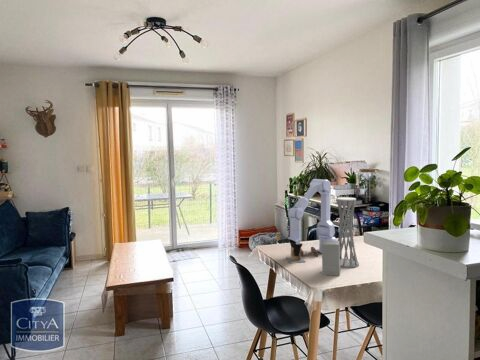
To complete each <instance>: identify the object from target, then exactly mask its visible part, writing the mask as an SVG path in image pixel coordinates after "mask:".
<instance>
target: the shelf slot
mask: <svg viewBox="0 0 480 360" xmlns="http://www.w3.org/2000/svg"><path fill="white" fill-rule="evenodd" d="M310 252H311V254H312V255H313V256H314V257H316V258H318V255H319V254H318V252H319V251H318V250H317V249H316V248H315V247H314V246H311V247H310ZM304 253H305V252H304V250H303V249H302V248H301V249H300V257H302V258H305V254H304Z"/></svg>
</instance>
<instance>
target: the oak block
mask: <svg viewBox="0 0 480 360" xmlns="http://www.w3.org/2000/svg"><path fill="white" fill-rule="evenodd" d="M290 257H291V259H292V261H295V260H300V257H301V256H300V253H299V256H295V255H294V249H293V248H291V247H290Z"/></svg>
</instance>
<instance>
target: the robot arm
mask: <svg viewBox="0 0 480 360" xmlns="http://www.w3.org/2000/svg"><path fill="white" fill-rule="evenodd" d="M331 185H332V184H331V182H330V180H328V179H323V178H322V179H320V178H313V179H312V180H311V181H310V183H309V187H308V189H307V191H306V192H305V194H304V196H303V197H300V198H298V201H296V203H295V204H294V206H293V207H291V208H289V209H288V212H287V216H288V218H289V232H290V233H289V236H288V237H287V239H288V241H289V244H290V249H291V248H293V249H294V255H295V256H299V253H300V249H302V247H303V243H301V240H302V236H301V235H302V234H301V233H302V232H301V230H302V229H301V228H302V226H301V224H302V222H301V221H302V220H301V219H302V218H303V217H304V212H305V210H306V208H307V207H308V206H309V201H310V200H311V198H313V197H314V195H315V194H316V193H317V192H318V193H319V194H320V221H319V222H317V226H316V234H317V235H318V237H319V241H318V242H319V246H318V248H317V249H316V250H317V251H318V252H319V253H320V254H322V242H323V241H337V239H336V236H335V234H336V231H335V230H336V229H335V224H334V223H333V222H332V220H331V187H332V186H331Z"/></svg>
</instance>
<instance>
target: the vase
mask: <svg viewBox="0 0 480 360" xmlns="http://www.w3.org/2000/svg"><path fill="white" fill-rule="evenodd" d="M336 205H337V208H338V214H339V233H338V238H337V241H339V243H340V269H341V268H343V269H355V268H358V267H359V266H360V262H359V260H358V258H357V254H356V248H355V247H356V246H355V240H354V233H353V229H354V228H353V225H354V223H353V221H354V220H353V219H354V212H355V206H356V205H357V198H356V197H349V196H348V197H346V196H345V197H344V196H342V197H341V196H340V197H336ZM346 207H347V210H346ZM346 239H347V240H346ZM348 247H349V255H348ZM343 249H344V256H343V257H342V255H343V253H342V252H343Z"/></svg>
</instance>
